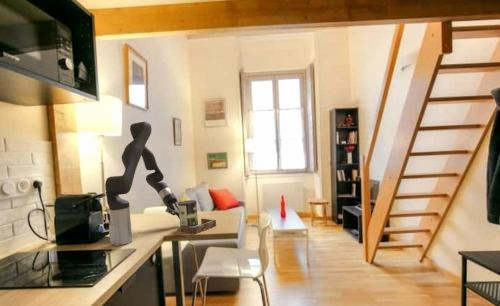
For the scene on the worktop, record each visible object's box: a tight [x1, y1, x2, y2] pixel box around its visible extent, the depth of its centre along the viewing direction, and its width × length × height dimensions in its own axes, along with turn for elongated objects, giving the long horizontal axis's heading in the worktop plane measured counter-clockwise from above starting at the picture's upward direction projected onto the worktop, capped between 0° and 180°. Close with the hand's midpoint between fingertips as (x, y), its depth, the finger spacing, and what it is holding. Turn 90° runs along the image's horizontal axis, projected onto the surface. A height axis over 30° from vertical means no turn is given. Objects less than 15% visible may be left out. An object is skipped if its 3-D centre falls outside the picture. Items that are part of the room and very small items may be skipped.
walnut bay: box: [180, 217, 217, 234], centre depth 155 cm, size 16×11×3 cm
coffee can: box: [178, 199, 199, 229], centre depth 160 cm, size 10×10×14 cm
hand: (182, 218), depth 164 cm, fingers closed
